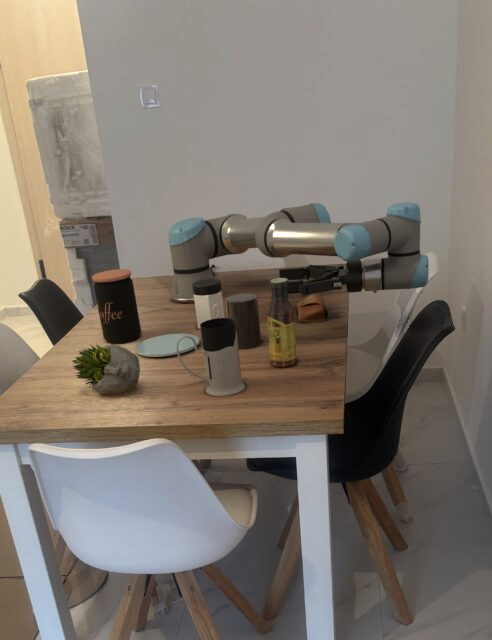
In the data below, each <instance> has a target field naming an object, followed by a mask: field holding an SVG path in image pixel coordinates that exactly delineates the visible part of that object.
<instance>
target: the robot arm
mask: <svg viewBox="0 0 492 640" xmlns="http://www.w3.org/2000/svg"><path fill="white" fill-rule="evenodd" d="M386 209H387V210H386V214H385V215H386V216H383V217H379V218H376V219H373V220H367V221H363V222H332V221H331V216H330V213H329V211H328V210H327V207H326V206H325V205H324V204H322V203H320V202H310V203H308V204H304V205H300V206H299V205H298V206H292V207H286V208H282V209H280V210H277V211H275V212H271V213H269V214H267V215H266V216H260V217H259V216H258V217H251V218H247V216H245V214H241V213H229V214H227V215H223V216H219V217H215V218H211V219H204V218H203V217H200V216H195V217H191V218H190V217H189V218H185V219H181V220H179V221H176V222H175V223H173V224H172V225H171V226H169V228H168V245H169V250H170V256H171V262H172V269H173V279H172V287H171V292H170V293H171V301H172V302H175V303H179V304H192V303H194V304H195V302H194V294H193V289H192V284H193V283H194V282H196V281H200V280H205V279H215V278H214V275H215V272H214V271H213V269H215V268H216V265H215V264H211V266H210V260H213V259H216V258H220V257H225V256H231V255H241V254H244V253H245V252H247V251H248V250H249V249H258V251H260V252H261V254H263V255H264V256H266V257H268V258H275V259H276V258H279V259H283V258H287V257H289V256H290V255H299V256H300V255H302V256H320V257H323V256H324V257H338V258H340V259H341V260H342V261H344V262H346V263H345V266H344V265H323V264H322V265H321V264H320V265H319V264H309V265H308V266H306V267H295V268H294V267H293V268H279V269H278V272H279V273H278V274H279V278H286V279H288V295H291V294H292V295H293V294H294V295H295V294H300V295H301V296H303V297H306V296H309V295H310V294H316V293H320V294H321V293H326V292H331V291H341V290H342V289H343V286H345V285H346V292H347V293H348V294H349V293H350V294H351V293H361V292H362V291H363V290H364V291H365V292H372V293H374V294H377V293H378V291H393V290H411V289H420V288H424V287H426V286H427V285H428V284H429V268H430V267H429V265H430V264H429V256H428V255H426V254H422V253H421V248H420V247H421V223H422V220H421V208H420V205H419V204H418V203H416V202H412V201H411V202H410V201H407V202H397V203H393V204H391V205H389V206H388V207H387V208H386ZM383 253H386V254H387V257H376V258H368V257H372V256H375V255H379V254H383ZM362 259H364V260H363V261H362Z"/></svg>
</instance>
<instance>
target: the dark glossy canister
mask: <svg viewBox="0 0 492 640" xmlns="http://www.w3.org/2000/svg"><path fill="white" fill-rule="evenodd" d="M225 307H226V308H225V309H226V316H227V317H226V318H230V319H233V320H234V321H235V330H236V333H237V340H238V349H239V350H246V349H247V350H248V349H252V348H256V347H259V346H260V345H261V344H262V334H261V325H260V323H261V322H260V314H259V313H260V312H259V302H258V295H257V294H254V293H239V294H233V295H230V296H228V297H226V298H225Z"/></svg>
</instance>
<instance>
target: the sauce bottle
mask: <svg viewBox="0 0 492 640" xmlns="http://www.w3.org/2000/svg"><path fill="white" fill-rule="evenodd" d="M288 282H289V280H288V279H286V278H280V277H276V278H272V279H270V281H269V287H270V289H271V290H270V291H271V301H270V305H269V309H268V313H267V331H268V345H269V347H268V348H269V359H270V362H271V365H272V366H274V367H278V368H286V367H287V368H288V367H290V366H293V365H295V364H296V362H297V341H296V337H297V336H296V320H295V309H294V306H293V304H292V303H291V301H290V300H289V294H288Z"/></svg>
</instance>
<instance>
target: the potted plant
mask: <svg viewBox="0 0 492 640" xmlns="http://www.w3.org/2000/svg"><path fill="white" fill-rule="evenodd" d="M89 346H90V347H91V348H90V347H86V348H85V347H82V349H80V350H78V352H77V353H76V354H78V355H80V356H74V359H73V360H71V362H72V363H73V364H72V367H73V368H72V369H73V370H75V371H77V372H74V373H73V374H75V375H74V377H76V379H81V380H85V381H84V385H89V386H91V389H92V390H93V391H94V392H96V393H97V394H98V395H100V396H102V397H103V396H112V395H117V394H122V393H124V392H127V391H130V390H133V389H135V388H136V386H137V385H138V382H139V380H140V374H141V367H140V366H141V365H140V359H139V357H138V356H137V355H136V354H135V353H134V352H132V351H130V350H129V349H127V348H126V347H124V346H120V345H118V344H108V345H105V346H101V345H98V344H97V343H95V346H93V345H92V344H89Z"/></svg>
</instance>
